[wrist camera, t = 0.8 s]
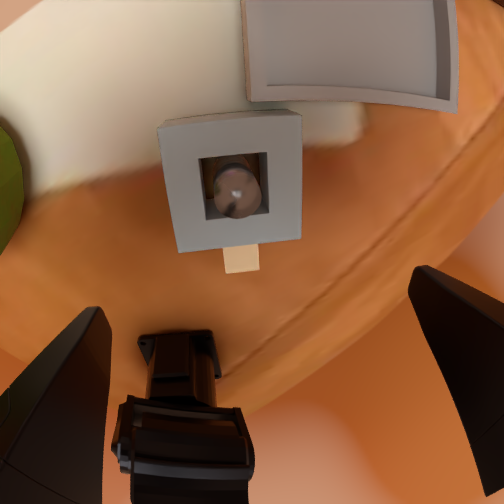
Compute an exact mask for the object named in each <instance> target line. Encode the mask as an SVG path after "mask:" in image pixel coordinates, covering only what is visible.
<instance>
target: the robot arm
mask: <svg viewBox="0 0 504 504" xmlns="http://www.w3.org/2000/svg"><path fill="white" fill-rule="evenodd" d="M408 295H409V298H410V300H411V303H412V305H413V308H414V310H415V313H416V315H417V318H418V320H419V323H420V325H421V328H422V331H423V333H424V336H425V338H426V340H427V342H428V344H429V347H430V349H431V351H432V353H433V355H434V357H435V359H436V361H437V364H438V366H439V368H440V370H441V372H442V375H443V377H444V379H445V382H446V384H447V386H448V388H449V391H450V393H451V396H452V398H453V401H454V403H455V406H456V408H457V410H458V413H459V416H460V419H461V421H462V424H463V426H464V429H465V432H466V435H467V438H468V440H469V443H470V447H471V449H472V453H473V456H474V459H475V462H476V465H477V468H478V472H479V475H480V479H481V483H482V486H483V490H484V493H485V496H486V497H487V496H489V495H491V494H493V493H495V492H497V491H499V490H500V489H502V488H504V303H502V302H500V301H498V300H497V299H495V298H493V297H490V296H489V295H487V294H485V293H483V292H481V291H479V290H477V289H475V288H473V287H471V286H469V285H467V284H465V283H463V282H461V281H459V280H457V279H455V278H453V277H451V276H449V275H447V274H445V273H443V272H441V271H438V270H437V269H434V268H432V267H430V266H428V265H422V266H417V267H415V268H414V270H413V273H412V277H411V280H410V283H409V287H408ZM206 336H208V337H206ZM137 343H138V346H139V348H140V350H141V352H142V354H143V357H144V359H145V361H146V363H147V365H148V367H149V368H148V377H147V387H146V398H145V399H144V398H138V397H135V396H133V395H128V396H127V401H126V402H125V403H123V404H120V405H119V409H118V417H117V423H116V427H115V431H114V435H113V439H112V444H111V451H112V452H113V453H114V454H115V456H116V457H117V458H118V463H120V472H121V473H125V474H131V476H130V481H131V482H130V495H131V496H130V499H131V502H132V504H249V501H248V481H250V480H251V478H252V476H253V473H254V467H255V455H254V448H253V444H252V441H251V438H250V435H249V432H248V429H247V426H246V423H245V420H244V417H243V414H242V411H241V408H237V407H233V408H220V407H217V404H216V391H215V379H219V378H221V377H222V373H221V368H220V364H219V359H218V355H217V350H216V346H215V341H214V336H213V333H212V332H211V331H197V332H187V333H176V334H165V335H152V336H141V337H139V338H138V342H137ZM111 346H112V330H111V327H110V325H109V322H108V320H107V318H106V316H105V314H104V311H103V310H102V308H101V307H99V306H94V307H87V308H85V309H84V310H83V311H82V312H81V313H80V314H79V315H78V316H77V317H76V318H75V319H74V320H73V321H72V322H71V323H70V324H69V325H68V326H67V327H66V328H65V329H64V330H63V331H62V332H61V333H60V334H59V335H58V336H57V337H56V338H55V339H54V340H53V341H52V342H51V343H50V344H49V345H48V346H47V347H46V348H45V349H44V350H43V351H42V352H41V353H40V354H39V355H38V356H37V357H36V358H35V359H34V360H33V361H32V362H31V363H30V364H29V365H28V366H27V367H26V369H25V370H24V371H23V372H22V373H21V374H20V375H19V376H18V377H17V378H16V379H15V380H14V382H13V383H12V384H11V385H10V388H7V389H6V390H5V391H4V393H3V394H2V395H1V396H0V504H102V471H103V451H104V436H105V424H106V413H107V405H108V396H109V388H110V371H111Z"/></svg>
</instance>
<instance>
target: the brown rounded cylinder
mask: <svg viewBox="0 0 504 504" xmlns="http://www.w3.org/2000/svg"><path fill="white" fill-rule="evenodd" d="M213 185H214V201H215V205H216V207H217V209H218V210H219V212H220V213H222V214H223V215H224V216H226V217H228V218H232V219H242V218H246V217H248V216H250V215H251V214H253V213H254V212H255V211H256V210H257V209H258V207H259V205H260V203H261V196H262V195H261V190H260V187H259V185H258V183H257V181H256V179H255V177H254V174H253V172H252V170H251V168H250V166H249V164H248V162H247V160H246V159H245V158H244V157H243V156H242V155H240V154H236V155H226V156H220V157H219V158H218V159H217V160H216V161H215V163H214V165H213Z"/></svg>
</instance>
